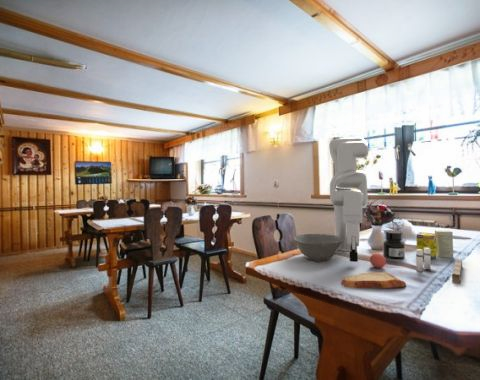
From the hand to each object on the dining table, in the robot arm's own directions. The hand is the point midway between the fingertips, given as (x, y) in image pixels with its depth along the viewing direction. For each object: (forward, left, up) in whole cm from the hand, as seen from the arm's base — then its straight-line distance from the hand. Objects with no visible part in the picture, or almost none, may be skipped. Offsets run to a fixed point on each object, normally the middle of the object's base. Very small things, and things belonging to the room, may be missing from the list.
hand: (353, 261), depth 117 cm
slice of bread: (+6, -20, -3) cm, 21 cm away
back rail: (+37, 0, -2) cm, 37 cm away
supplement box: (+32, +23, -2) cm, 40 cm away
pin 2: (+28, +4, -2) cm, 28 cm away
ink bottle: (+18, +20, -2) cm, 28 cm away
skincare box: (+40, +27, -2) cm, 49 cm away
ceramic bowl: (-16, +7, -2) cm, 17 cm away
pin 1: (+24, 0, -2) cm, 25 cm away
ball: (+9, 0, +1) cm, 10 cm away
